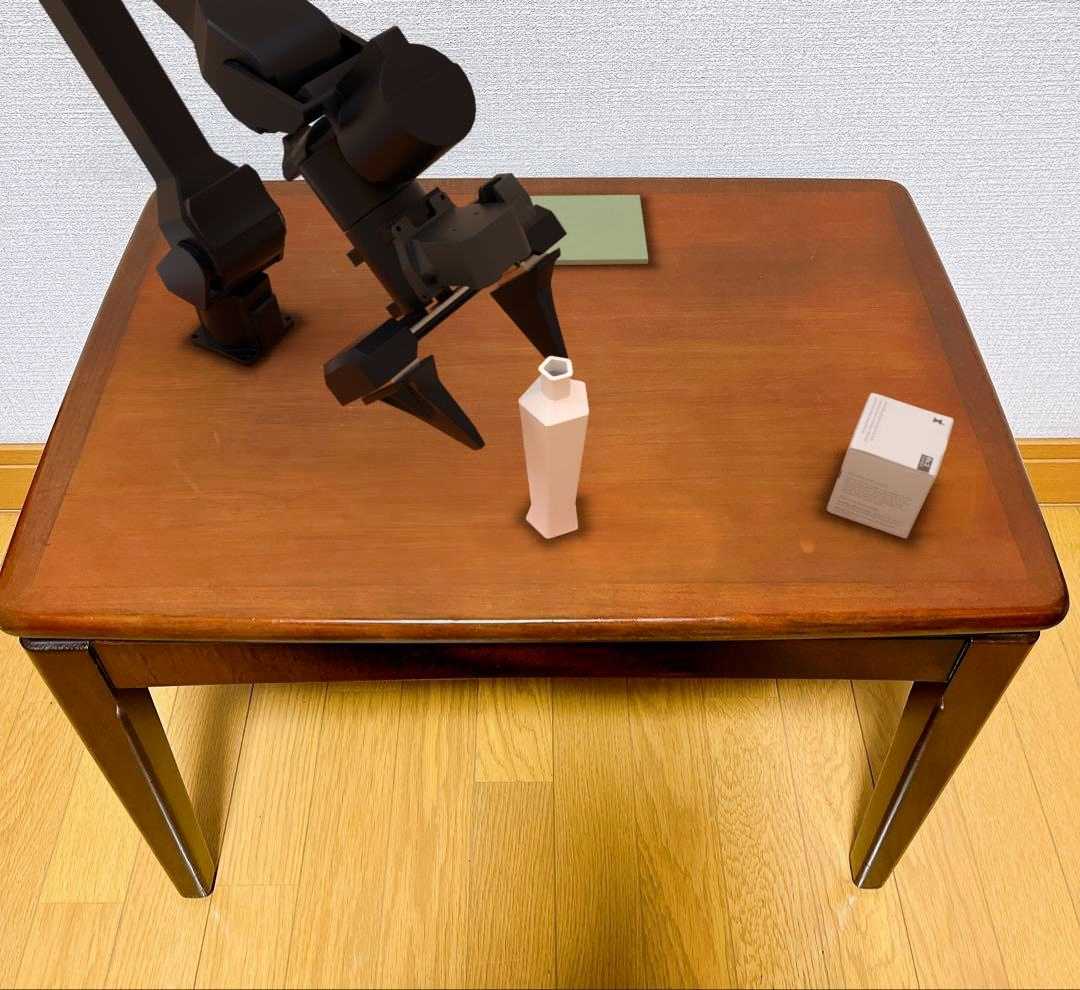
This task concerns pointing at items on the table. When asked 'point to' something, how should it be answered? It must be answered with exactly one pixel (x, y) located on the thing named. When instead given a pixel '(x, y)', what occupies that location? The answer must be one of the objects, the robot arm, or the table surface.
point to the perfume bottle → (554, 445)
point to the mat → (598, 229)
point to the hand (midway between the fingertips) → (524, 407)
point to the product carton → (890, 465)
